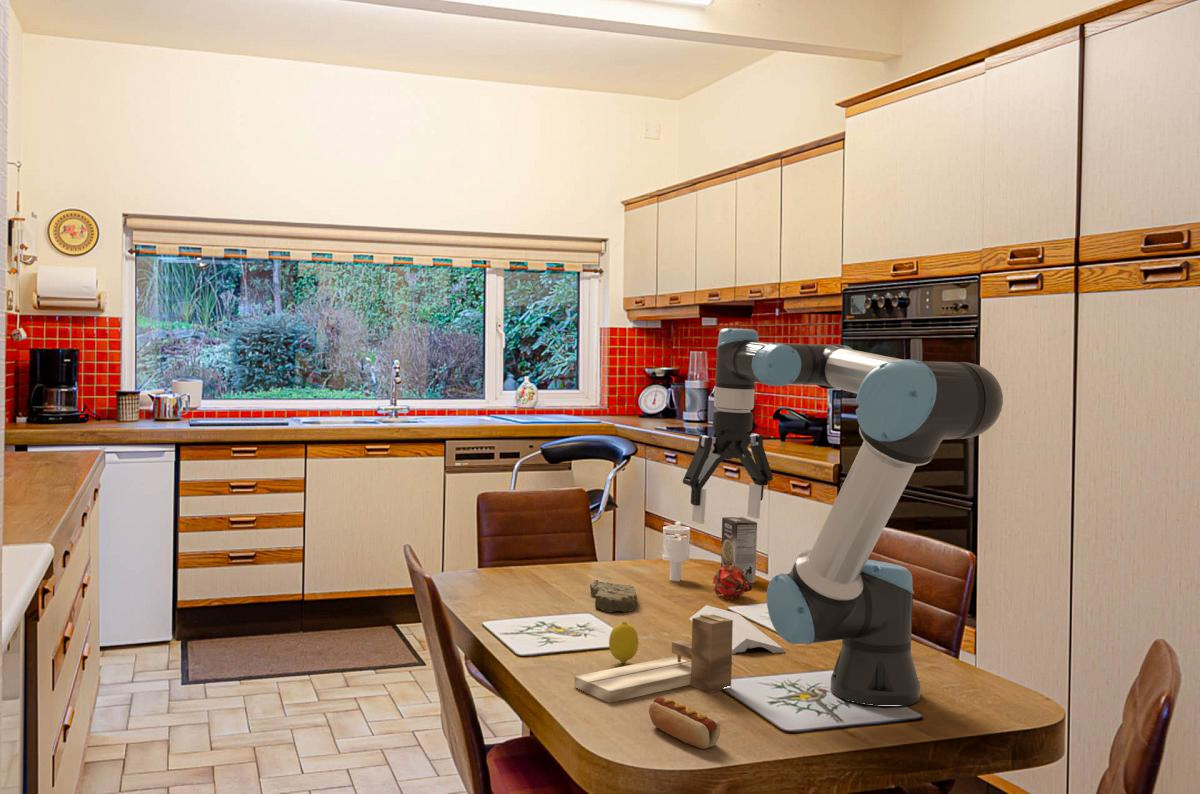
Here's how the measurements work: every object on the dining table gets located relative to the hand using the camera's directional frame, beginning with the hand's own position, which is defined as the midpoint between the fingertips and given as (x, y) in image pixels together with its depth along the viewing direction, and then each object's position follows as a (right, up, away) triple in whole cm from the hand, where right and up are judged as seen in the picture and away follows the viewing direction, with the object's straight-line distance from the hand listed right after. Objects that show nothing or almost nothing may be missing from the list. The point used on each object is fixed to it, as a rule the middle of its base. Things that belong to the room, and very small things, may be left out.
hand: (726, 519), depth 203 cm
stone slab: (-21, -26, +51) cm, 61 cm away
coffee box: (+12, -25, +78) cm, 83 cm away
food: (-11, -29, -42) cm, 52 cm away
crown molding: (+4, -28, +20) cm, 35 cm away
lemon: (-20, -27, -3) cm, 34 cm away
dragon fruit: (+8, -26, +56) cm, 62 cm away
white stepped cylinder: (-4, -25, +76) cm, 80 cm away
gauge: (-7, -27, -13) cm, 31 cm away
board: (-17, -27, -15) cm, 35 cm away
